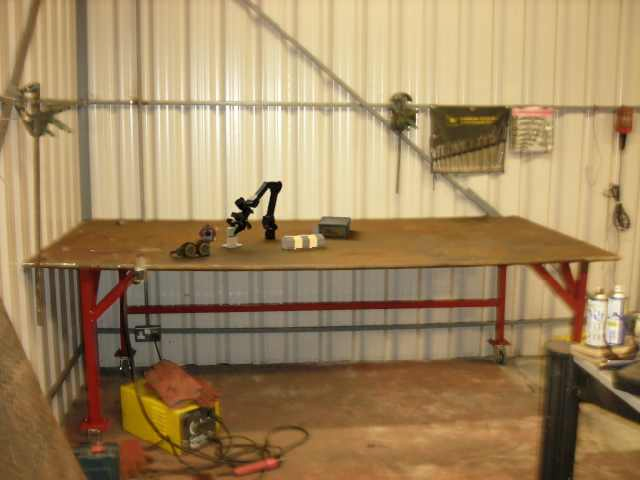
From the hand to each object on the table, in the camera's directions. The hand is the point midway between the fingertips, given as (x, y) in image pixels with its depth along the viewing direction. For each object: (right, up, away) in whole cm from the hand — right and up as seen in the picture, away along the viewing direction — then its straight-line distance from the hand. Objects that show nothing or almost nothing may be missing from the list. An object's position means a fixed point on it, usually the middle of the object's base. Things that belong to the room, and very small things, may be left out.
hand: (232, 234), depth 415 cm
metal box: (+66, 0, +49) cm, 82 cm away
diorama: (+45, -9, +2) cm, 46 cm away
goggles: (-20, -13, -22) cm, 32 cm away
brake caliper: (-19, -4, +21) cm, 29 cm away
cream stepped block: (0, -8, +2) cm, 8 cm away
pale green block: (0, -1, 0) cm, 1 cm away
